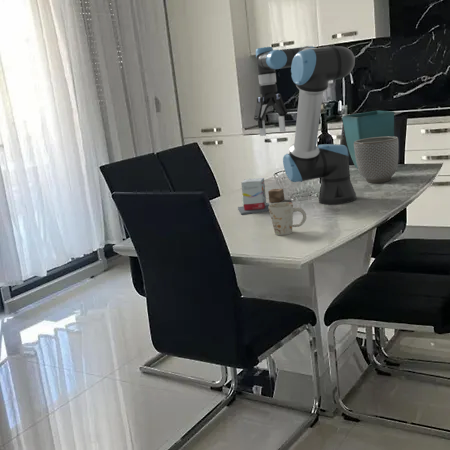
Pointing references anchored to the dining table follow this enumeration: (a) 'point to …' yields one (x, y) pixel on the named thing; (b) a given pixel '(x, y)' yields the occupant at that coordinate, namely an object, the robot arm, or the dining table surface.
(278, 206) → the mug
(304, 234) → the dining table surface
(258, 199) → the ink box
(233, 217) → the dining table surface
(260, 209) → the slate pad
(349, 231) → the dining table surface
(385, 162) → the planter
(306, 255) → the dining table surface
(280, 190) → the walnut block
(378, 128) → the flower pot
